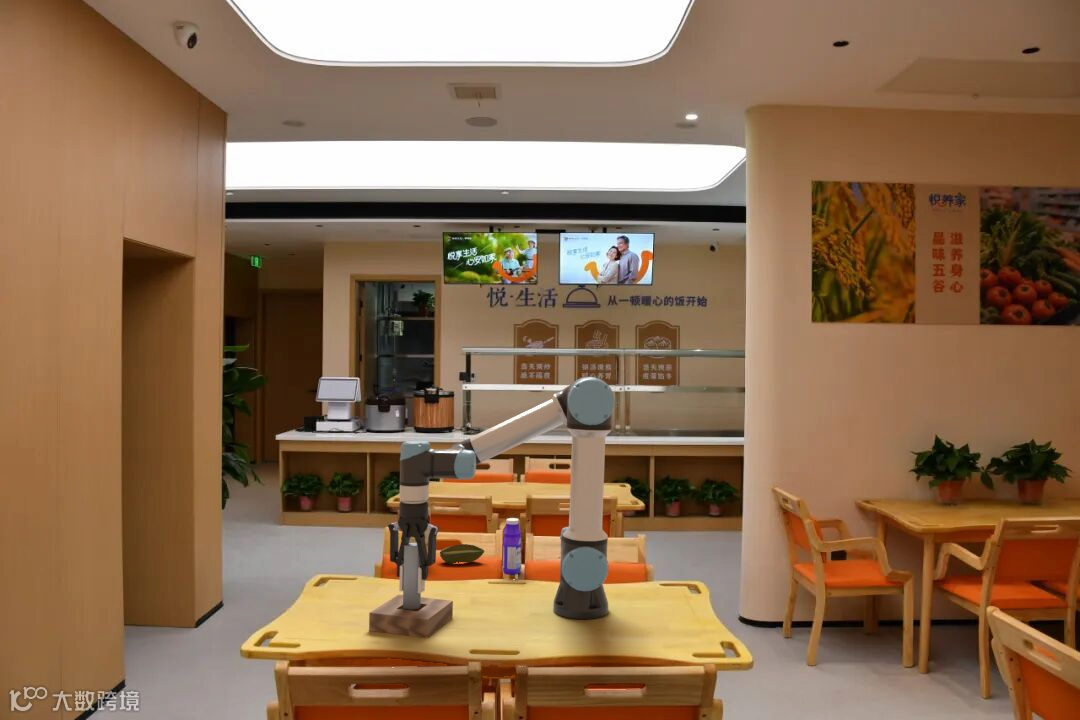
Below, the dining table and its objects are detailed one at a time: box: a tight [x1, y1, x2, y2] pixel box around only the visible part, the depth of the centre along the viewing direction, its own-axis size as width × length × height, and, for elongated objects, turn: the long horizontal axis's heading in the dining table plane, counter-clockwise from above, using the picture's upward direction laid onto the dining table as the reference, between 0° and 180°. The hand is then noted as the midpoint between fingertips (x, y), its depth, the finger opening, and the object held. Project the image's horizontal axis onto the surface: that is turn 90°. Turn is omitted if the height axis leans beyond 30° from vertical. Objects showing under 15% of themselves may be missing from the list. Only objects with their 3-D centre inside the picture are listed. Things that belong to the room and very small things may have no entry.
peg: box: [402, 543, 422, 610], centre depth 202 cm, size 4×4×16 cm
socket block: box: [368, 594, 454, 639], centre depth 202 cm, size 16×16×4 cm
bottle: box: [502, 517, 522, 576], centre depth 253 cm, size 7×6×17 cm
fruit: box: [439, 543, 485, 565], centre depth 264 cm, size 11×12×7 cm
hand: (412, 590), depth 202 cm, fingers closed on peg, 4 cm apart
